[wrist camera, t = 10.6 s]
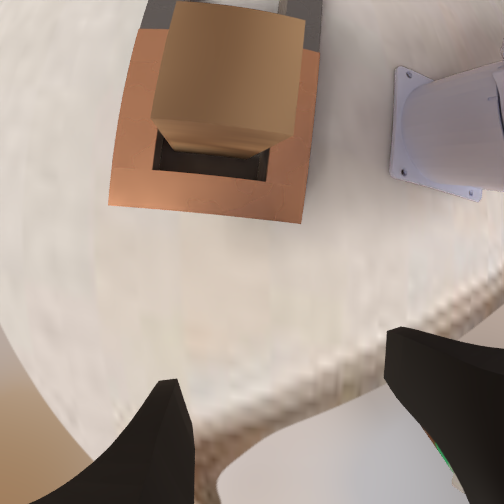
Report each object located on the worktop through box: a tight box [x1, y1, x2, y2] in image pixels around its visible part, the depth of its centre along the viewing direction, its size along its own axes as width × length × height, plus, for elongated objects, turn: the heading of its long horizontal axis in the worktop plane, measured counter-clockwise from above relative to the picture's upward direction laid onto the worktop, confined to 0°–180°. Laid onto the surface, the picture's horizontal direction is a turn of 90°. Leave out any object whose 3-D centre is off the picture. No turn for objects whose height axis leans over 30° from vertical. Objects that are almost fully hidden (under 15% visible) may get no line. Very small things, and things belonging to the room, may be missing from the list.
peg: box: [151, 1, 306, 160], centre depth 12 cm, size 4×4×9 cm
